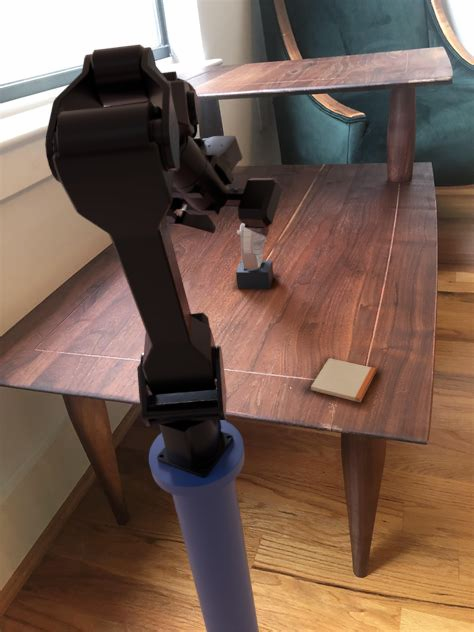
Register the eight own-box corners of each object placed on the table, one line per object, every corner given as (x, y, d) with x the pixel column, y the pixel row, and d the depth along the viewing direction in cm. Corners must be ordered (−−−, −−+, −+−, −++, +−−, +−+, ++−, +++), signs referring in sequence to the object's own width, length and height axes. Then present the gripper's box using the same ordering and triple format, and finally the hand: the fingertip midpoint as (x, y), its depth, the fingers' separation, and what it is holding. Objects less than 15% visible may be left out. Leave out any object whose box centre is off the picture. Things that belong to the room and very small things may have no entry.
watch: (275, 271, 97) (270, 213, 91) (268, 294, 91) (262, 232, 85) (244, 271, 98) (237, 213, 93) (235, 293, 92) (227, 233, 86)
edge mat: (360, 402, 66) (360, 398, 66) (311, 390, 69) (310, 386, 68) (376, 371, 70) (376, 368, 70) (329, 361, 73) (329, 357, 73)
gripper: (270, 111, 66) (311, 186, 79) (150, 120, 75) (205, 185, 88) (243, 190, 63) (291, 254, 76) (122, 189, 72) (183, 246, 85)
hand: (239, 231), depth 81 cm, fingers open, 9 cm apart
